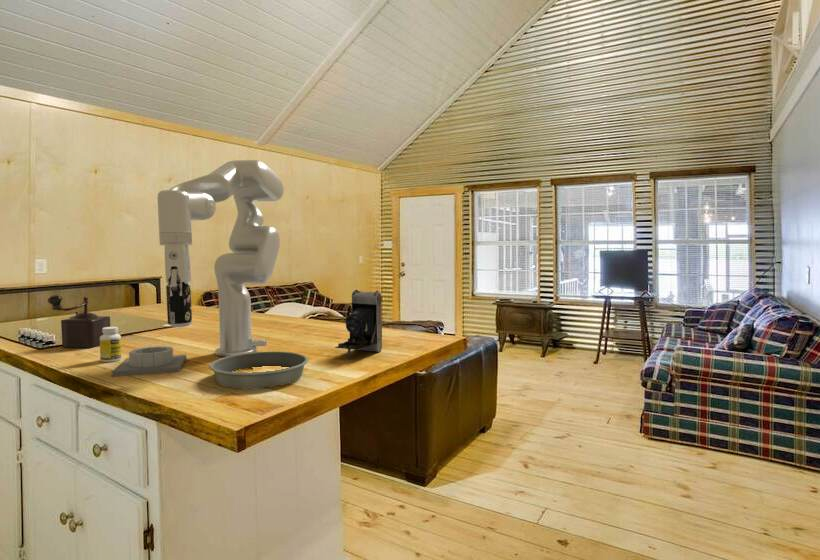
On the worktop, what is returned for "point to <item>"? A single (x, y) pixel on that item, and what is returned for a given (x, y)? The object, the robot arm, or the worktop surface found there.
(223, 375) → the cake pan
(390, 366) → the worktop surface
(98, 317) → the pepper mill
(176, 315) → the beverage can
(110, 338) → the supplement bottle
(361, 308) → the vintage camera
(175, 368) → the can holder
